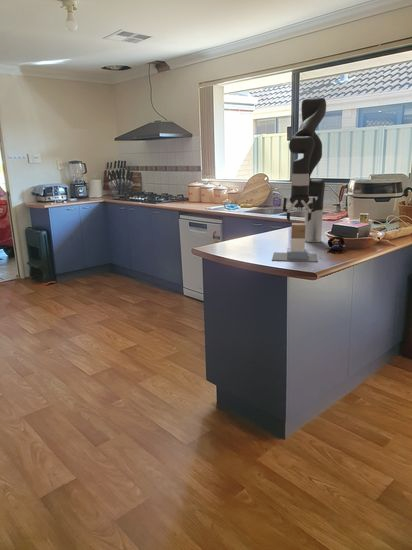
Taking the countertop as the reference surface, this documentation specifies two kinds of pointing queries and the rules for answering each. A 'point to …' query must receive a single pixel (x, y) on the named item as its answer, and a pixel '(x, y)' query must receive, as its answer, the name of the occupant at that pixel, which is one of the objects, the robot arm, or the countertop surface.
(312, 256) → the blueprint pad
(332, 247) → the toy
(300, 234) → the walnut block
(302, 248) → the white block
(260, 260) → the countertop surface
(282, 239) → the countertop surface
